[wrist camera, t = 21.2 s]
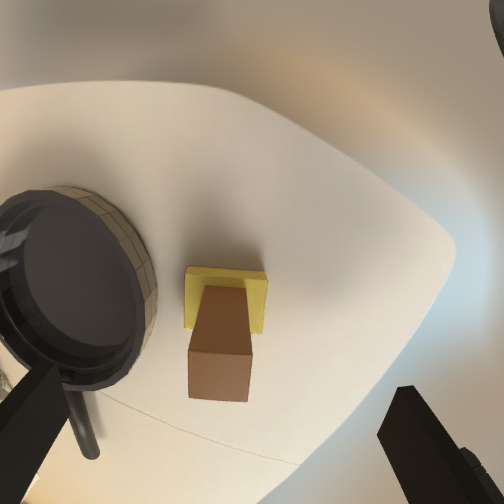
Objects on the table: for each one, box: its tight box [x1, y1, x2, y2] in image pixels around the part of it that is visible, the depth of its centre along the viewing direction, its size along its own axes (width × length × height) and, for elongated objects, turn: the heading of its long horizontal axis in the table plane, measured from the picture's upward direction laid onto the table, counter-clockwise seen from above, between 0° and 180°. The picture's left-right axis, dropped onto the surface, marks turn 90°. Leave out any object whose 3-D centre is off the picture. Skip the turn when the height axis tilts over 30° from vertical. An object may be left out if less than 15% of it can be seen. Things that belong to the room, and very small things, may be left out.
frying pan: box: [0, 187, 157, 391], centre depth 22 cm, size 17×17×4 cm
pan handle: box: [60, 372, 100, 460], centre depth 24 cm, size 2×12×2 cm, turn 175°
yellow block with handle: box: [184, 266, 268, 402], centre depth 19 cm, size 6×4×11 cm
